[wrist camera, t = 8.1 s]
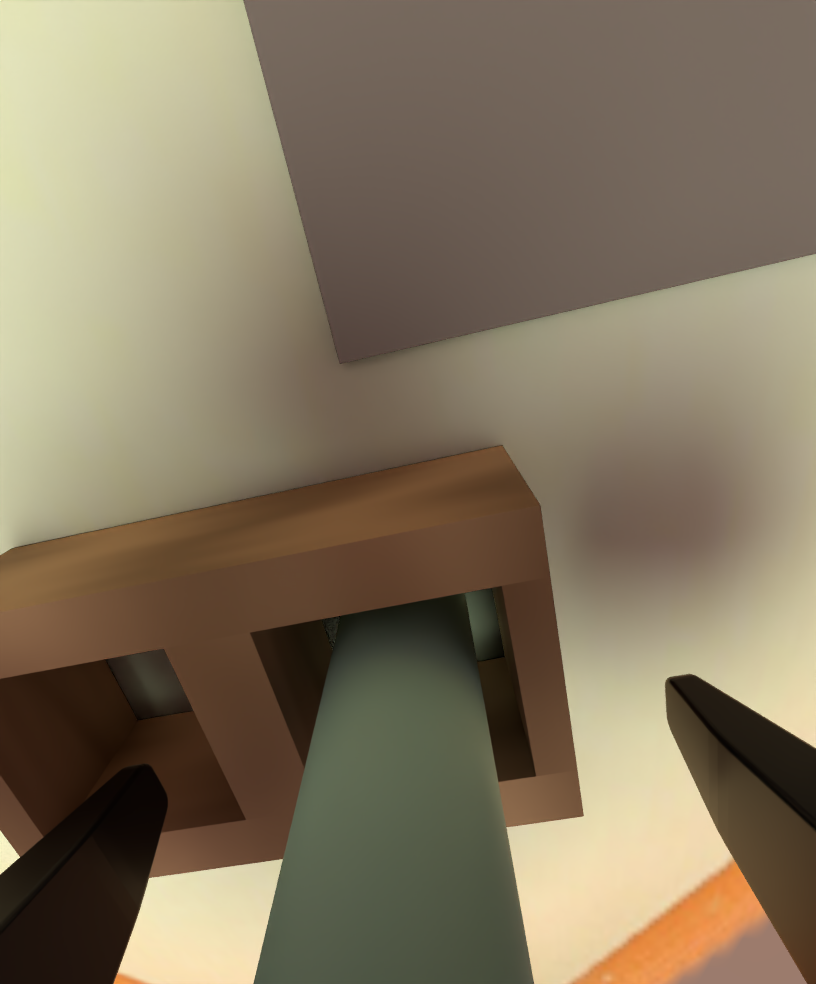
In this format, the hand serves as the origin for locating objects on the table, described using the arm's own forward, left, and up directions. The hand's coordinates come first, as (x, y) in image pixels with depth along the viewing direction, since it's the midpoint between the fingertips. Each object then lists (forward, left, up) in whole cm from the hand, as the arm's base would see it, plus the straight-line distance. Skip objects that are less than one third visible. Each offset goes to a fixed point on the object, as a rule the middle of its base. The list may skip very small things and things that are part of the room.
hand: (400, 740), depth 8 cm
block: (+3, 0, -4) cm, 5 cm away
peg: (0, 0, -4) cm, 4 cm away
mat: (-5, -9, -4) cm, 12 cm away
